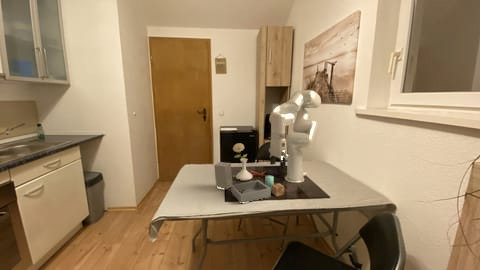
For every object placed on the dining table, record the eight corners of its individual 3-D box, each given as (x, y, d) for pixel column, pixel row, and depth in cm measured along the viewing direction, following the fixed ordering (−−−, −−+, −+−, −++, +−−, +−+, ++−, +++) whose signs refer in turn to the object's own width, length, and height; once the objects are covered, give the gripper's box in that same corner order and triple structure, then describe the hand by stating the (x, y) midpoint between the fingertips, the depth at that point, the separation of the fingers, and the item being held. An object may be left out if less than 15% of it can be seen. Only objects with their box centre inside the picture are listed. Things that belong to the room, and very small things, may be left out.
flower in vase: (252, 176, 149) (252, 141, 145) (252, 182, 138) (251, 144, 134) (234, 175, 151) (233, 141, 147) (232, 181, 139) (231, 144, 135)
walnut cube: (278, 191, 124) (279, 183, 123) (284, 194, 119) (284, 186, 118) (271, 193, 122) (271, 184, 121) (276, 196, 117) (276, 188, 116)
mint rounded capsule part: (270, 185, 132) (270, 175, 131) (275, 188, 127) (275, 177, 126) (263, 187, 130) (263, 176, 129) (268, 190, 125) (268, 179, 124)
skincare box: (233, 187, 130) (232, 162, 128) (226, 192, 124) (225, 166, 122) (221, 185, 135) (220, 161, 132) (215, 189, 129) (213, 164, 126)
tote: (258, 187, 129) (258, 180, 128) (270, 197, 116) (270, 188, 115) (230, 193, 122) (230, 185, 121) (240, 204, 109) (240, 195, 108)
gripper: (293, 137, 109) (292, 170, 111) (275, 133, 124) (274, 161, 127) (281, 139, 106) (281, 172, 108) (264, 134, 121) (263, 163, 124)
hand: (277, 166), depth 118 cm, fingers open, 9 cm apart
